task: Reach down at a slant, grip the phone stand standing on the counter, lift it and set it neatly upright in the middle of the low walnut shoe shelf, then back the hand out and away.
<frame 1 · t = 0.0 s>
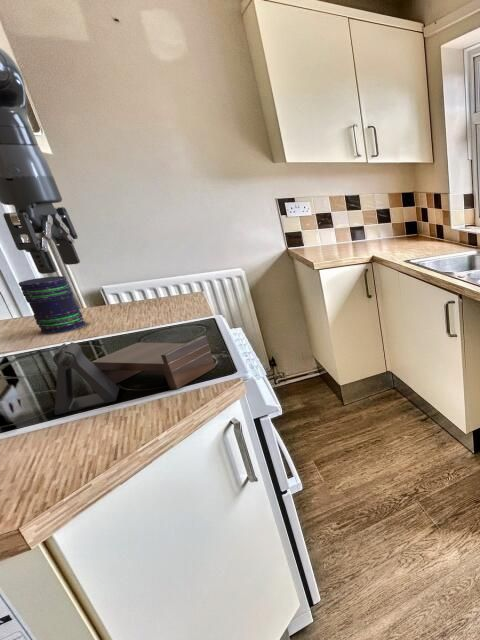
hand: (61, 268, 78), 27 cm above the worktop, tool pointing down, fingers open, 8 cm apart
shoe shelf: (161, 376, 95), on the worktop
blue green striped cylinder: (64, 328, 128), on the worktop
phone stand: (89, 402, 85), on the worktop
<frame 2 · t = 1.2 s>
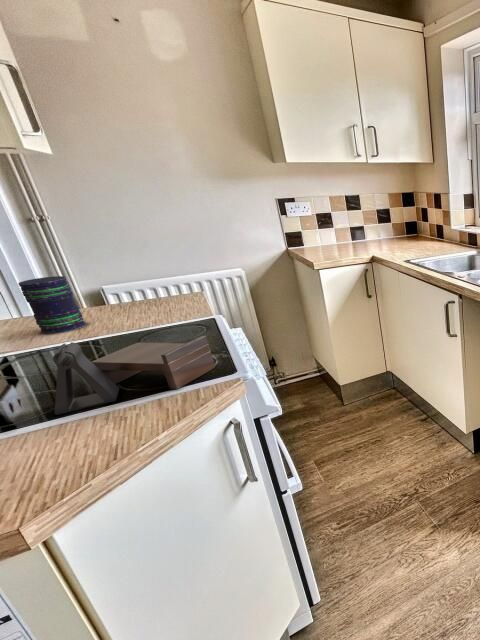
nothing on the worktop moved.
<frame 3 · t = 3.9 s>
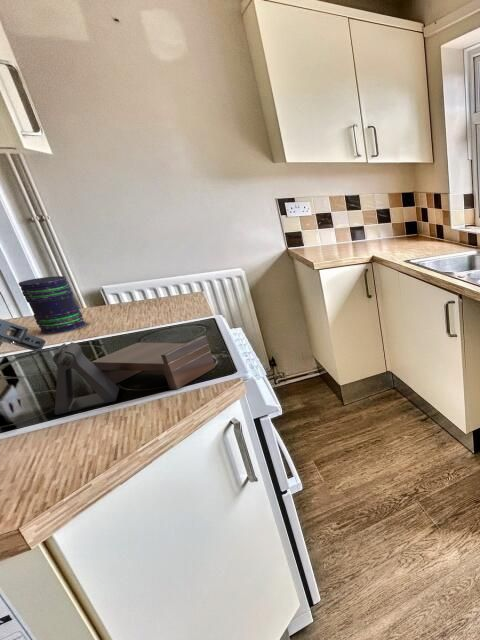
hand: (20, 345, 74), 15 cm above the worktop, tool tilted 45°, fingers open, 8 cm apart
nothing on the worktop moved.
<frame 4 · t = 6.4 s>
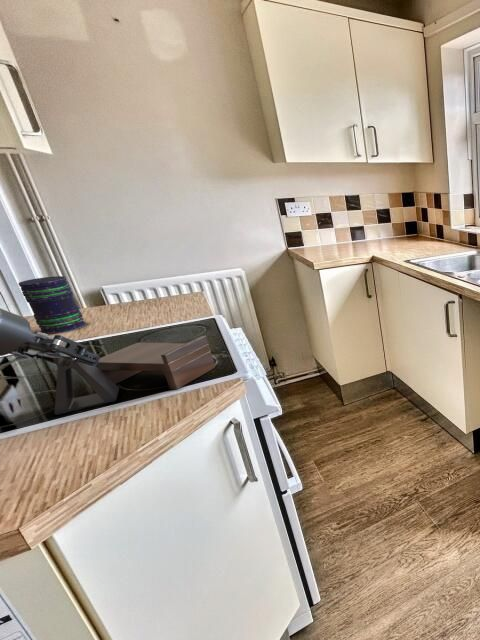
hand: (81, 360, 84), 8 cm above the worktop, tool tilted 45°, fingers closed on phone stand, 6 cm apart
phone stand: (89, 402, 85), on the worktop, touching gripper
everything else where it was.
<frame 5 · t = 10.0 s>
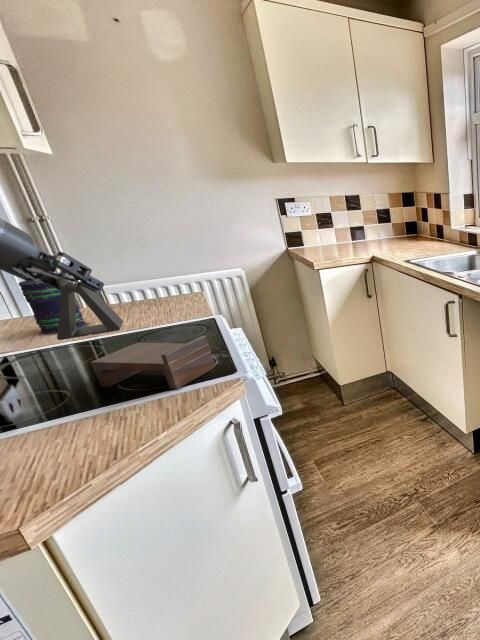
hand: (84, 288, 82), 22 cm above the worktop, tool tilted 45°, fingers closed on phone stand, 6 cm apart
phone stand: (93, 331, 84), point 14 cm above the worktop, touching gripper
everything else where it was.
when the fingers open (14 cm above the worktop, at t = 13.9 s): phone stand stays where it is, resting on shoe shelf.
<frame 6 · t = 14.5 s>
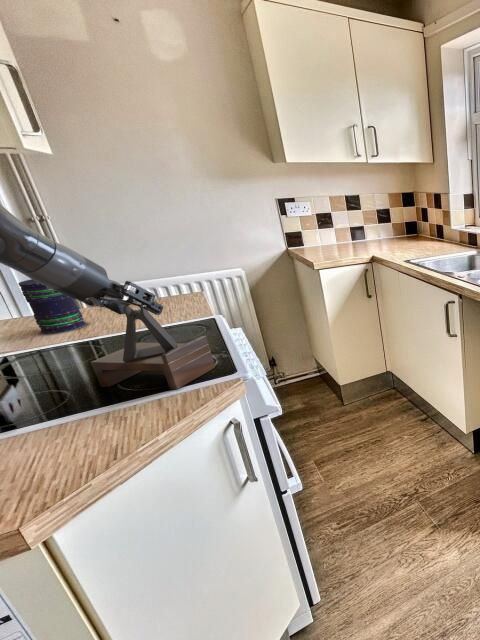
hand: (142, 310, 91), 15 cm above the worktop, tool tilted 45°, fingers open, 8 cm apart
phone stand: (151, 353, 93), point 6 cm above the worktop, touching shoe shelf
everything else where it was.
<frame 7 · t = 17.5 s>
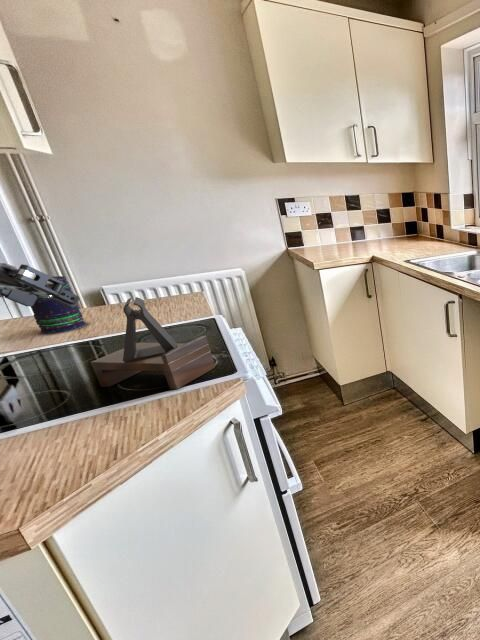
hand: (54, 302, 75), 21 cm above the worktop, tool tilted 45°, fingers open, 8 cm apart
nothing on the worktop moved.
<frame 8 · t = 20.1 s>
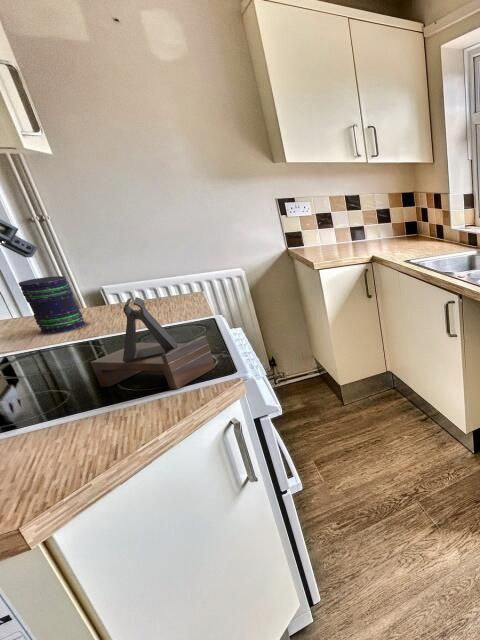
hand: (10, 253, 70), 31 cm above the worktop, tool tilted 45°, fingers open, 8 cm apart
nothing on the worktop moved.
at the end: phone stand inside the target area on the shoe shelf (0.1 cm from its centre), point 5.8 cm above the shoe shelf's base; phone stand tilted 0°; the gripper is holding nothing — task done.
